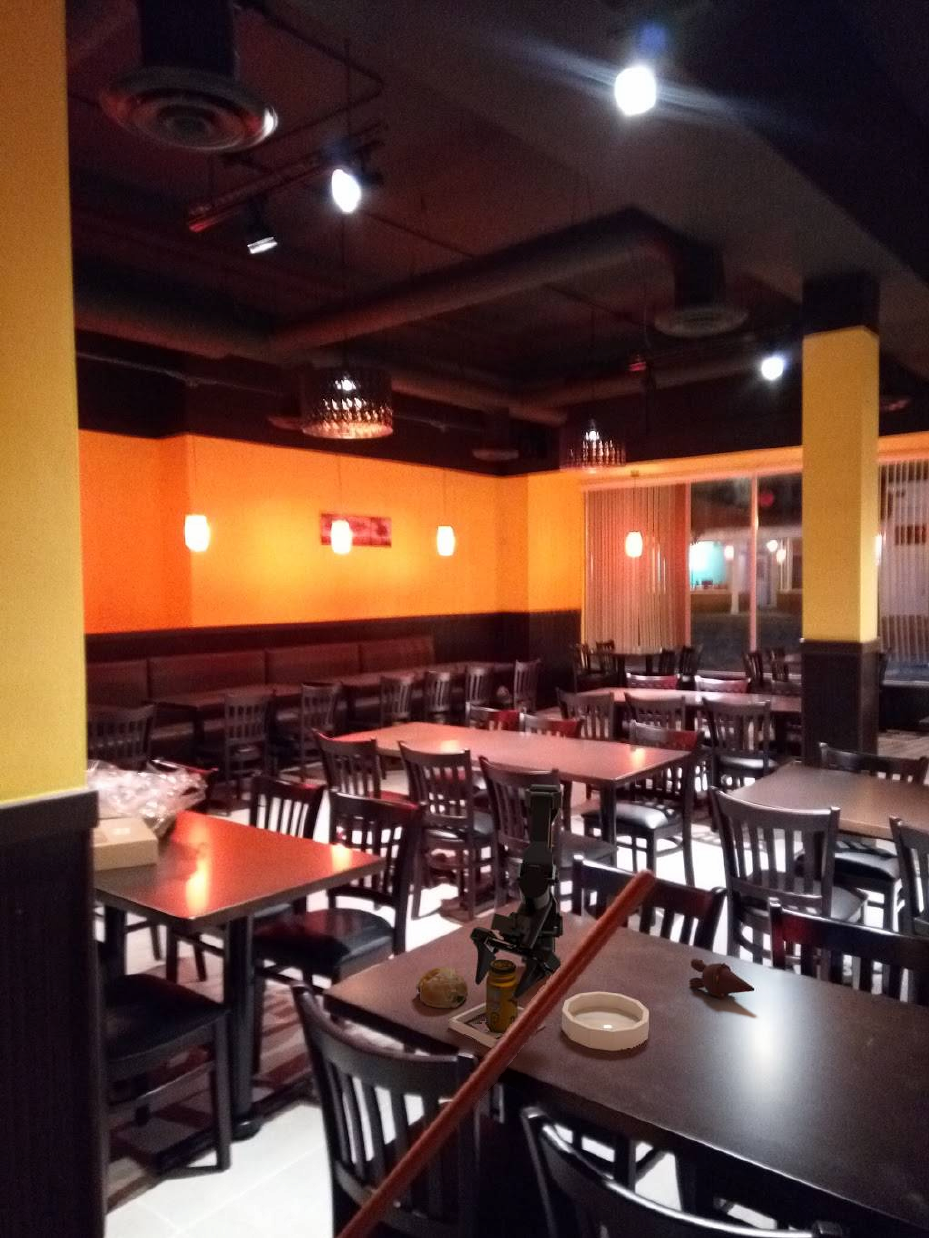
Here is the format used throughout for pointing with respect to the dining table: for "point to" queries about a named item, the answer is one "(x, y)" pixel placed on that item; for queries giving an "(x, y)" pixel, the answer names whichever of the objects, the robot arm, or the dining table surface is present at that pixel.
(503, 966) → the condiment
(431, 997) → the bread roll
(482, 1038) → the square frame
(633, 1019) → the bowl
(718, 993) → the icecream
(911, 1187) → the dining table surface
